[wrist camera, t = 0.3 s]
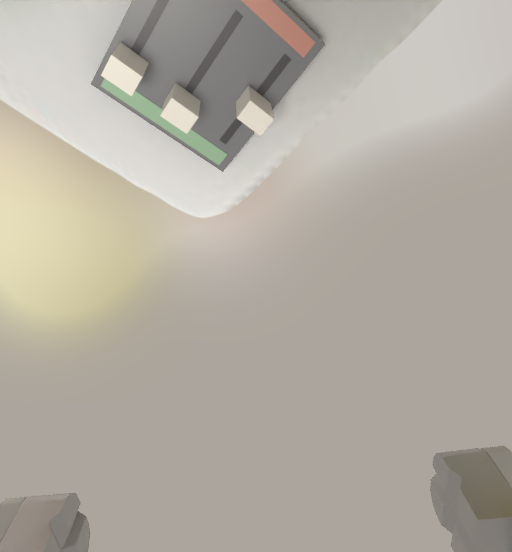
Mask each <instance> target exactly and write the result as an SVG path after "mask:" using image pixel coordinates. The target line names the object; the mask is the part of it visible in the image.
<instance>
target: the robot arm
mask: <svg viewBox="0 0 512 552" xmlns="http://www.w3.org/2000/svg"><path fill="white" fill-rule="evenodd" d="M433 467H434V469H435V471H436V473H437V474H436V475H435V476H434V477H433V478H432V479H431V488H430V491H431V496H432V502H433V506H434V508H435V511H436V514H437V516H438V518H439V520H440V523H441V525H442V526H444V527H445V528H446V529H447V530H449V531H450V532H451V533H452V534H453V536H452V543H451V546H452V548H453V550H454V552H512V452H511V451H510V450H509V449H508V448H506V447H505V446H498V447H489V448H481V449H479V448H475V449H467V450H459V451H451V452H444V453H443V452H442V453H436V455H435V456H434V459H433ZM79 506H80V501H79V499H78V497H77V495H76V493H68V494H56V495H43V496H31V497H20V498H9V499H5V500H4V501H3V502H2V503H1V504H0V552H88V548H89V538H90V529H89V523H88V520H87V518H86V516H85V515H83V514H82V513H80V512H79V511H78V508H79Z"/></svg>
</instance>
